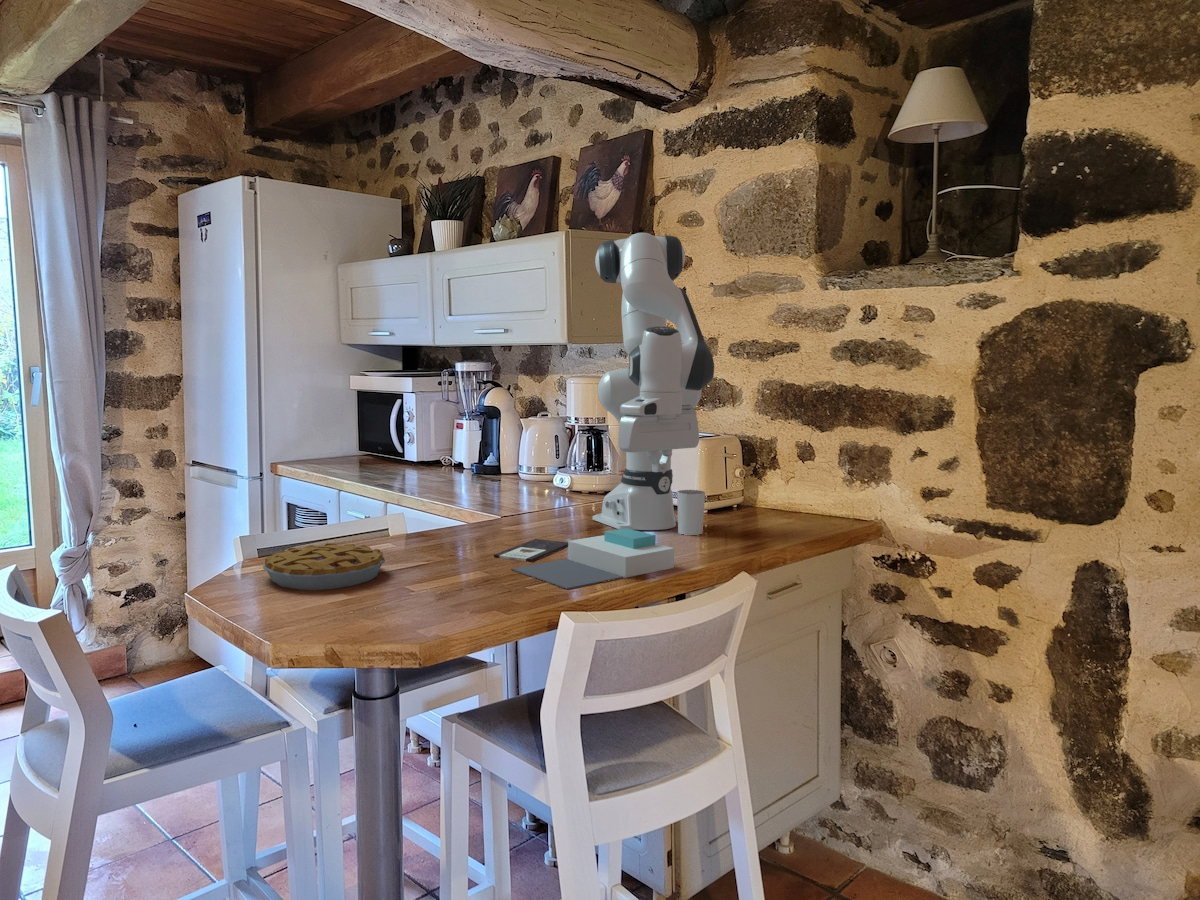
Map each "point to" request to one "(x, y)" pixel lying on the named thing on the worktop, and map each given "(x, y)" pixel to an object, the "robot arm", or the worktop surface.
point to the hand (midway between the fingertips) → (659, 471)
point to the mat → (566, 573)
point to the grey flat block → (620, 556)
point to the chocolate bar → (532, 550)
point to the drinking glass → (690, 511)
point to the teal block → (629, 538)
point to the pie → (324, 566)
